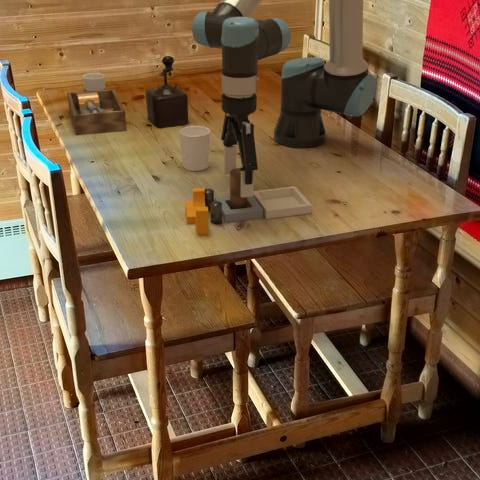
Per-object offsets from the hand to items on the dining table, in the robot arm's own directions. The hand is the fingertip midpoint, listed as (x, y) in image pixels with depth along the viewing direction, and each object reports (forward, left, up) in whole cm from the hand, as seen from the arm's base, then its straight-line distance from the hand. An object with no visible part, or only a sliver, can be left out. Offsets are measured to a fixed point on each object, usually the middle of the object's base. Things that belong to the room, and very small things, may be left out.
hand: (238, 184), depth 165 cm
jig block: (0, 0, -8) cm, 8 cm away
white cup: (+3, -30, -8) cm, 31 cm away
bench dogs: (+6, 0, -8) cm, 10 cm away
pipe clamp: (+10, +3, -8) cm, 13 cm away
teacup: (+21, -106, -8) cm, 108 cm away
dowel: (0, 0, -7) cm, 7 cm away
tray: (-11, 0, -8) cm, 13 cm away
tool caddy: (+24, -74, -8) cm, 78 cm away
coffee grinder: (+3, -70, -8) cm, 71 cm away
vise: (+25, -75, -8) cm, 80 cm away
